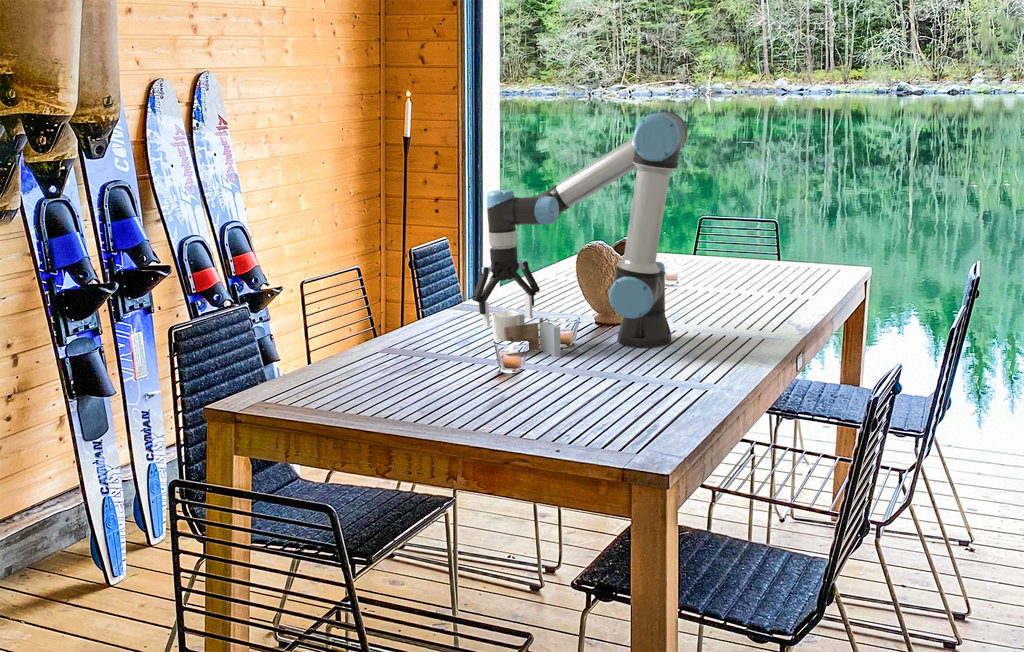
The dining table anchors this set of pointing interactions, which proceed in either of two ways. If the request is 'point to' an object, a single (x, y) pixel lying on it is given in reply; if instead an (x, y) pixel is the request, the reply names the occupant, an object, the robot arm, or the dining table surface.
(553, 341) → the wall frame
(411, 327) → the dining table surface
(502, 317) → the white cup
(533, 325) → the door
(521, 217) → the robot arm
